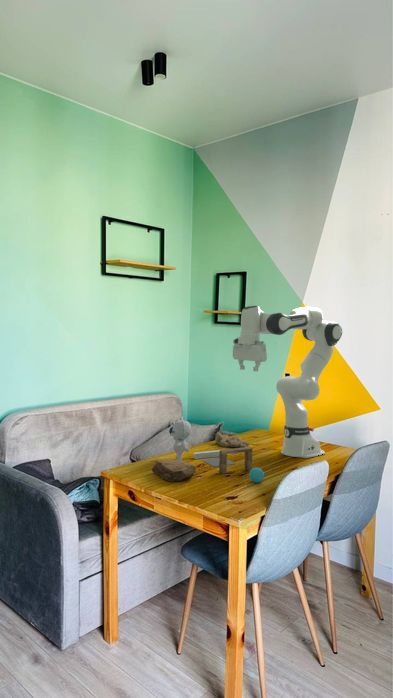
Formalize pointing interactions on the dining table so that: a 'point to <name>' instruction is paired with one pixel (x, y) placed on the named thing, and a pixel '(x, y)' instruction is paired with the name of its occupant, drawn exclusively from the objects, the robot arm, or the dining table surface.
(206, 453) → the white long bar
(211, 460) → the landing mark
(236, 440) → the figurine
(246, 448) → the bridge
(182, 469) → the rock
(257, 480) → the ball
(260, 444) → the dining table surface
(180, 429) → the toy
